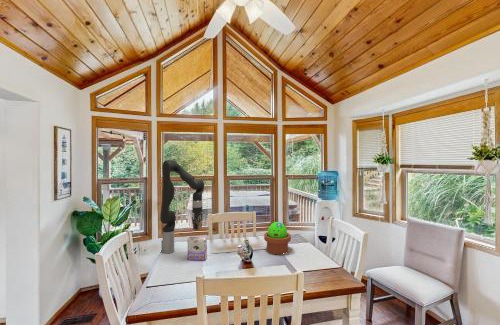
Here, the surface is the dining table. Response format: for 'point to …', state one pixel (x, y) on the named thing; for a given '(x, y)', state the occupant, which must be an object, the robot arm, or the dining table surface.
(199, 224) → the walnut cube
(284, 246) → the potted cactus
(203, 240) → the candy box
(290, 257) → the dining table surface
